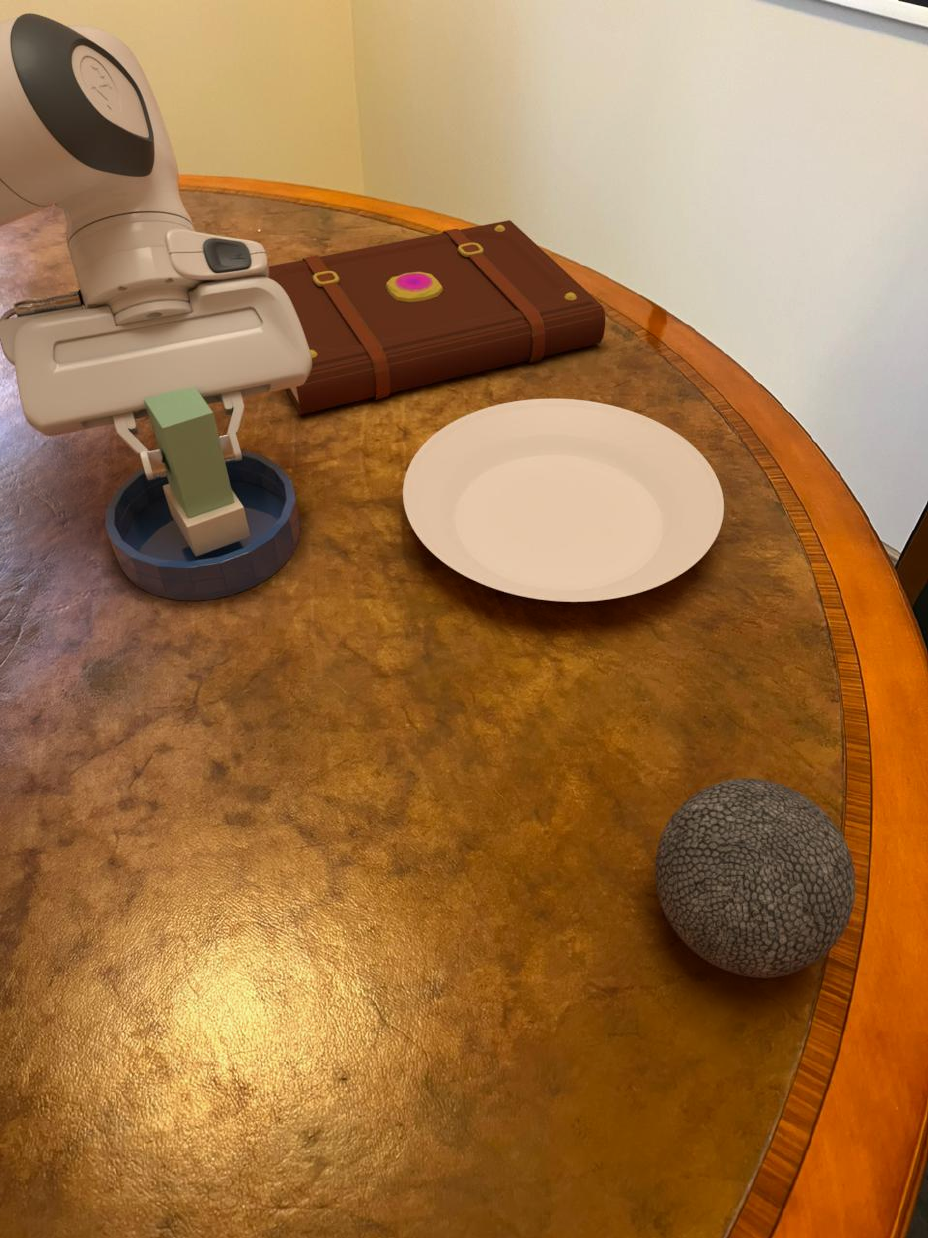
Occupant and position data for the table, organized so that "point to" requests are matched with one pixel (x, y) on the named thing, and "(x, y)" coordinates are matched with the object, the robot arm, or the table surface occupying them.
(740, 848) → the decorative ball
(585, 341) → the book
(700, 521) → the white dinner plate
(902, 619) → the table surface
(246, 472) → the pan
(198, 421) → the green block on base
